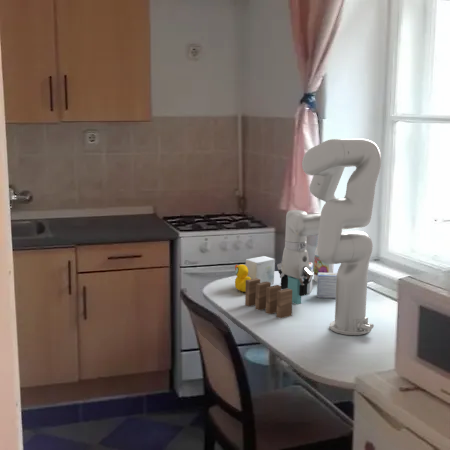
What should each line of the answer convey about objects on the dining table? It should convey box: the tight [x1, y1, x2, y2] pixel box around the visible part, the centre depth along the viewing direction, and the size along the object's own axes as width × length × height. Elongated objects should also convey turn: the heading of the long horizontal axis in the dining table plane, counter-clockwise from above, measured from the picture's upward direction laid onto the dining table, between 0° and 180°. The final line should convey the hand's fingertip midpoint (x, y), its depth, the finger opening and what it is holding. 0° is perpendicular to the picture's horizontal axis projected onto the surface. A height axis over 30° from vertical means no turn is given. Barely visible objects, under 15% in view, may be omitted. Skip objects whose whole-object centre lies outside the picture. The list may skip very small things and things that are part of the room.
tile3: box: [254, 282, 272, 311], centre depth 240 cm, size 2×5×9 cm, turn 128°
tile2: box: [265, 284, 282, 315], centre depth 236 cm, size 2×5×9 cm, turn 128°
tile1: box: [276, 289, 293, 319], centre depth 232 cm, size 2×5×9 cm, turn 128°
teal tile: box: [288, 276, 302, 305], centre depth 248 cm, size 2×5×9 cm, turn 37°
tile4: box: [244, 278, 260, 307], centre depth 244 cm, size 2×5×9 cm, turn 128°
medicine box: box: [316, 272, 337, 299], centre depth 255 cm, size 8×4×9 cm, turn 84°
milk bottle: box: [313, 246, 335, 282], centre depth 277 cm, size 8×8×20 cm
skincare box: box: [244, 255, 276, 286], centre depth 270 cm, size 10×6×10 cm, turn 132°
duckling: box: [234, 263, 251, 293], centre depth 261 cm, size 11×5×10 cm, turn 25°
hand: (293, 291), depth 248 cm, fingers open, 9 cm apart
